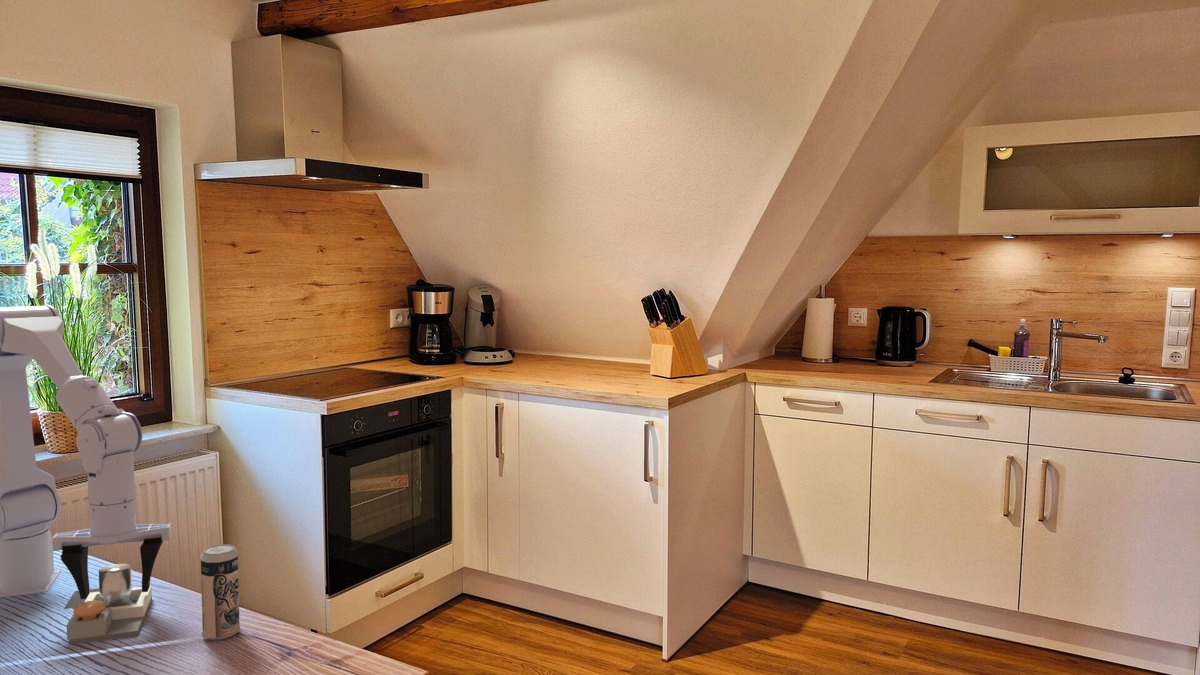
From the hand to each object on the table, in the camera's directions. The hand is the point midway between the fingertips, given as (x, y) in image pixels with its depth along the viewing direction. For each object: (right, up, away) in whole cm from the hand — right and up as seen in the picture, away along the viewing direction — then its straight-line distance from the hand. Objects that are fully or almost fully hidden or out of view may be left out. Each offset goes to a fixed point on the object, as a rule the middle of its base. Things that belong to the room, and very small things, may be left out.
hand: (115, 593), depth 120 cm
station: (+1, -4, -2) cm, 4 cm away
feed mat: (-7, -3, +6) cm, 10 cm away
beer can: (+18, -4, -5) cm, 19 cm away
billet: (0, -2, 0) cm, 2 cm away
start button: (+1, -3, -7) cm, 7 cm away
